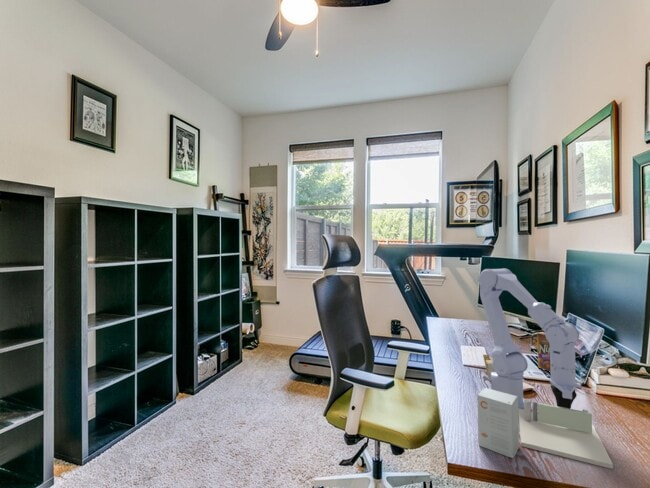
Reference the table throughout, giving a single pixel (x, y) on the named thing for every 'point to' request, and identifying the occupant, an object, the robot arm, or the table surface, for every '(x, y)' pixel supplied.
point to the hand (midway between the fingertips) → (563, 414)
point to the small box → (498, 422)
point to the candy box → (543, 352)
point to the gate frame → (561, 439)
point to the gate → (563, 417)
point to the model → (488, 365)
